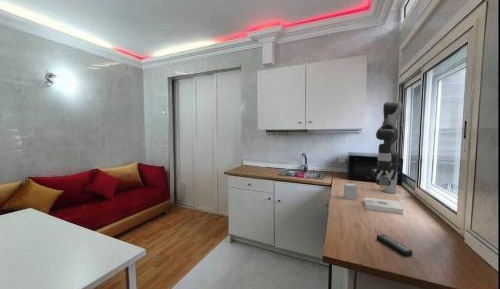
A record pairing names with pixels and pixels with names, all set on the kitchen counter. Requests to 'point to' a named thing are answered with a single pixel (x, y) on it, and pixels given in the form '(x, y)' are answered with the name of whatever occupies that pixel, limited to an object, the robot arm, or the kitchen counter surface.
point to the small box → (350, 191)
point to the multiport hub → (394, 245)
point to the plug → (383, 182)
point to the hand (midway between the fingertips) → (383, 185)
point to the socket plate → (383, 205)
